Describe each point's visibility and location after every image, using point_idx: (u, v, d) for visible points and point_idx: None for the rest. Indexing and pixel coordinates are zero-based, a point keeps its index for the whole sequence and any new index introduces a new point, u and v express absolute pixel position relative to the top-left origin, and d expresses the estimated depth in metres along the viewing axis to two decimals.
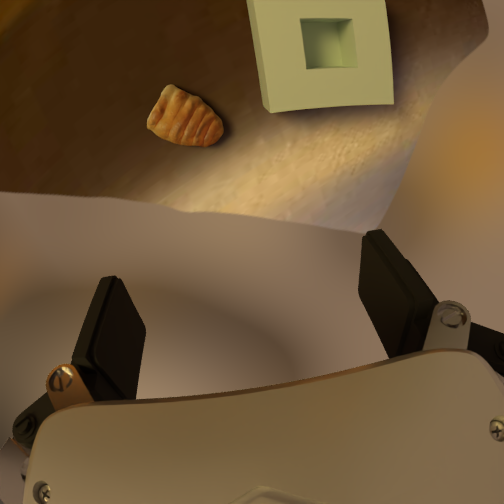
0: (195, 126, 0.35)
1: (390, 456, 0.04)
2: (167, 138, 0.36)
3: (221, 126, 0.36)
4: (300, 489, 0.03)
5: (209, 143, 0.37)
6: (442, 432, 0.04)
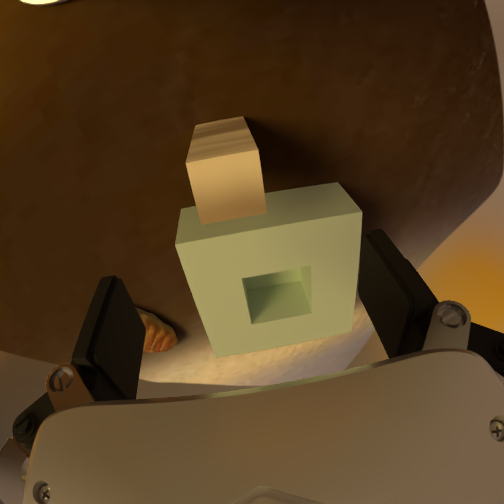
0: (149, 345, 0.35)
1: (390, 456, 0.04)
2: None
3: (174, 338, 0.37)
4: (300, 489, 0.03)
5: (165, 350, 0.38)
6: (442, 432, 0.04)
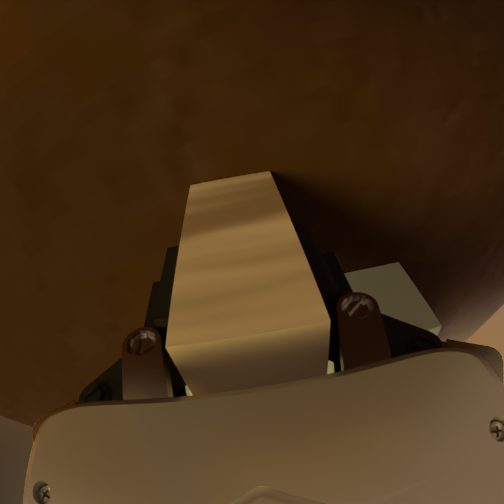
0: None
1: (390, 456, 0.04)
2: None
3: None
4: (301, 488, 0.03)
5: None
6: (442, 432, 0.04)
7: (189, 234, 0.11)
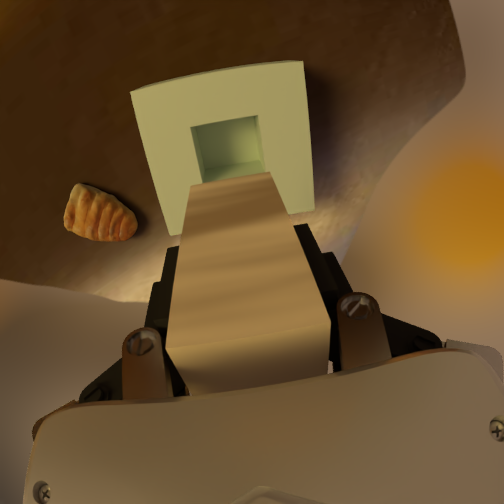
0: (106, 226, 0.34)
1: (390, 456, 0.04)
2: (86, 237, 0.35)
3: (133, 220, 0.35)
4: (301, 488, 0.03)
5: (126, 238, 0.36)
6: (442, 432, 0.04)
7: (189, 235, 0.11)
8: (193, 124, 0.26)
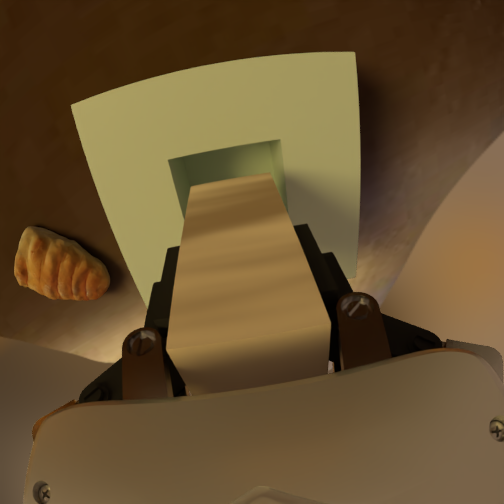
0: (68, 285, 0.24)
1: (390, 456, 0.04)
2: None
3: (103, 276, 0.25)
4: (300, 488, 0.03)
5: (96, 297, 0.26)
6: (442, 432, 0.04)
7: (189, 236, 0.11)
8: (173, 155, 0.16)
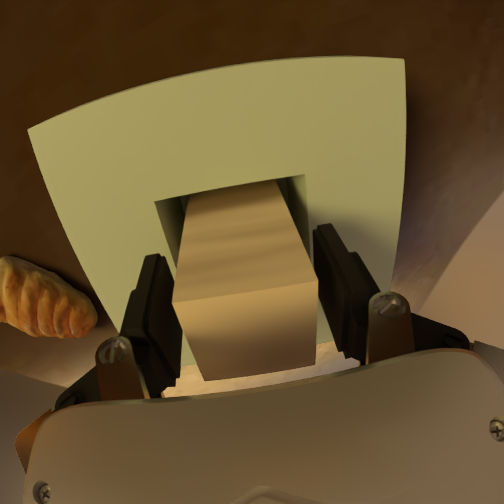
0: (49, 324, 0.19)
1: (390, 456, 0.04)
2: None
3: (87, 313, 0.21)
4: (301, 489, 0.03)
5: (82, 335, 0.22)
6: (442, 432, 0.04)
7: (193, 213, 0.13)
8: (160, 195, 0.12)
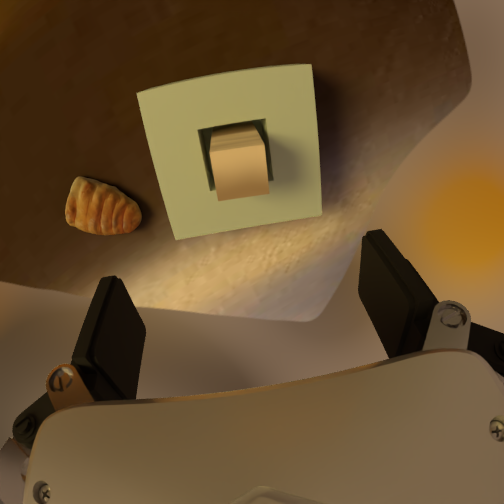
0: (109, 218, 0.33)
1: (390, 456, 0.04)
2: (90, 232, 0.34)
3: (137, 210, 0.34)
4: (300, 489, 0.03)
5: (130, 230, 0.35)
6: (442, 432, 0.04)
7: (214, 136, 0.26)
8: (200, 127, 0.26)
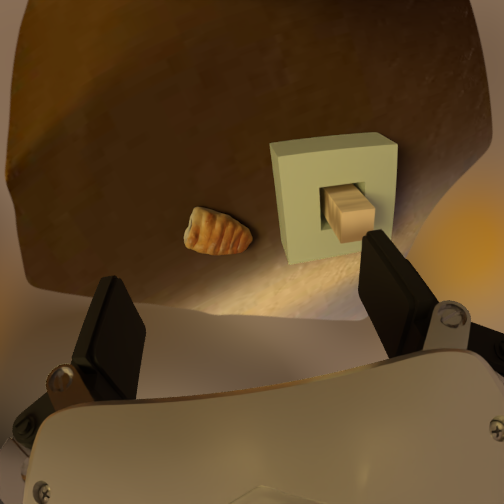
0: (228, 242, 0.43)
1: (390, 456, 0.04)
2: None
3: (249, 235, 0.44)
4: (301, 489, 0.03)
5: (242, 250, 0.45)
6: (442, 432, 0.04)
7: (330, 192, 0.37)
8: (321, 185, 0.36)
